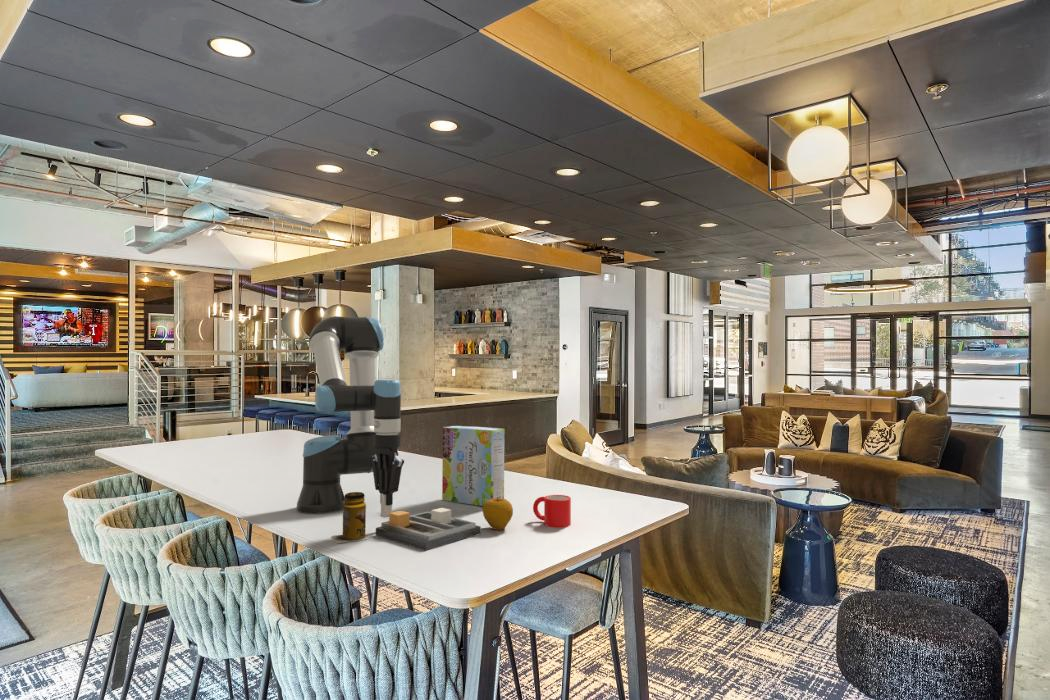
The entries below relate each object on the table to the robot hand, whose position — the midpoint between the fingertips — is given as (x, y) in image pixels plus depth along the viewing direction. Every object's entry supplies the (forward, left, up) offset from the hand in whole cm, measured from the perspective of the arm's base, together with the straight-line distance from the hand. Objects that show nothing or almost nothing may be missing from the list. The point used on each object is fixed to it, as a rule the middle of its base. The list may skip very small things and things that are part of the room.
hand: (386, 516), depth 171 cm
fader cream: (+12, +10, -2) cm, 16 cm away
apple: (+23, +22, -4) cm, 32 cm away
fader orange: (+6, 0, -2) cm, 6 cm away
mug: (+31, +37, -4) cm, 48 cm away
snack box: (-6, +41, -4) cm, 42 cm away
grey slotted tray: (+12, +5, -4) cm, 14 cm away
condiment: (-1, -11, -4) cm, 12 cm away
